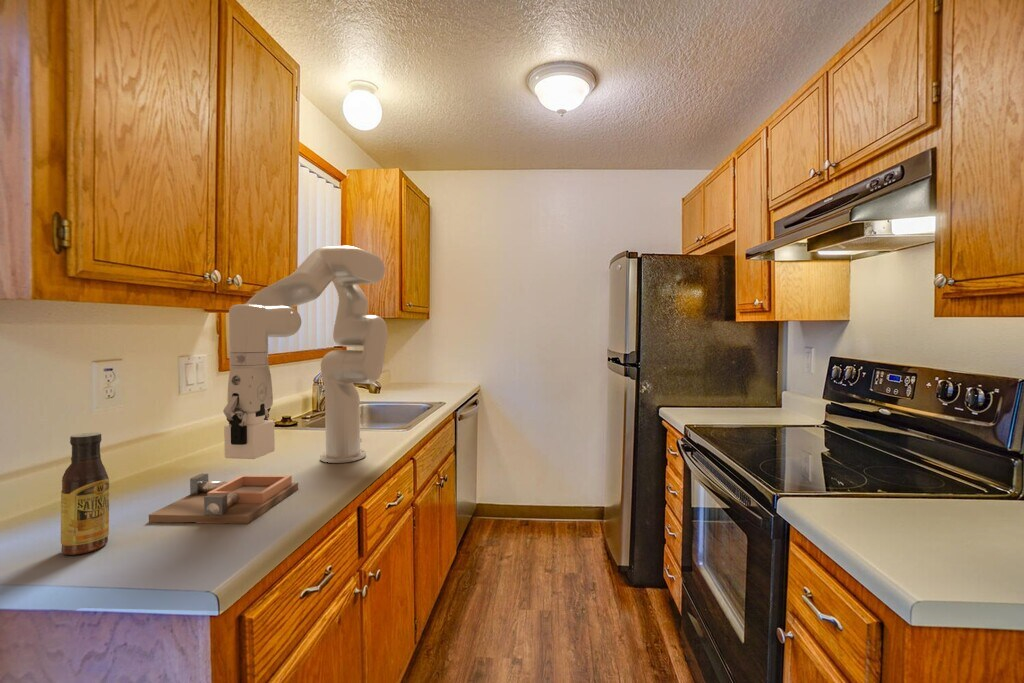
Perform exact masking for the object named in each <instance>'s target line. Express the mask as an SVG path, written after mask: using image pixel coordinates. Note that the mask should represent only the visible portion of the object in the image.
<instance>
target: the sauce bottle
mask: <svg viewBox="0 0 1024 683" xmlns="http://www.w3.org/2000/svg"><path fill="white" fill-rule="evenodd" d="M69 439H70V440H69V443H70V445H71V458H70V460H71V463H70V464H69V465H68V467H67V468H66V470H65V471H64V473H63V475H62V479H61V492H60V496H61V497H60V545H61V553H62V554H63V555H66V556H77V555H82V554H87V553H91V552H94V551H96V550H100V549H101V548H102V547H104V546H105V545H107V544H108V541H109V534H110V478H109V476H108V473H107V471H106V467H105V465H104V464H103V462H102V458H101V457H102V456H101V442H102V433H101V432H85V433H76V434H72V435H70V438H69Z"/></svg>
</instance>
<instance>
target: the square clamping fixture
mask: <svg viewBox="0 0 1024 683" xmlns="http://www.w3.org/2000/svg"><path fill="white" fill-rule="evenodd" d="M292 480H293V479H292V475H275V474H274V475H267V474H265V475H261V474H260V475H258V474H256V475H255V474H248V475H247V474H241V475H240V476H237V477H235V478H233V479H231V480H230V481H225V480H223V481H221V480H218V481H215V480H214V481H213V480H209V473H199V474H197V475H195V476H192V477H191V478H189V488H190V490H189V491H190V492H189V493H190V494H188V495H186V496H184V497H182V498H180V499H179V500H176V501H173V502H172V503H169V504H168V505H166V506H164V507H162V508H160V509H157V510H155V511H154V512H152V513H149V514H148V523H156V522H201V523H200V524H224V523H230V524H234V523H236V525H237V524H239V525H240V524H241V525H248V524H250V523H251V522H253V521H254V520H255V518H256V519H257V518H258V517H260V516H262V515H263V514H265V513H266V512H267V511H269V510H270V509H272V508H273V507H274V506H276V505H278V504H279V503H280V502H281V500H282V501H283V500H285V499H286V498H287V497H289V496H290V495H292V494H293V493H294V491H295V490H296V491H297V490H298V489H299V483H298V482H292ZM296 491H295V492H296ZM291 493H292V494H291ZM288 495H289V496H288ZM285 497H286V498H285ZM279 501H280V502H279ZM278 502H279V503H278ZM275 504H276V505H275ZM272 506H273V507H272ZM269 508H270V509H269ZM268 509H269V510H268ZM266 510H267V511H266ZM265 511H266V512H265ZM262 513H263V514H262ZM259 515H260V516H259ZM252 520H253V521H252ZM234 525H235V524H234Z"/></svg>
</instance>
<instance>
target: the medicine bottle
mask: <svg viewBox="0 0 1024 683" xmlns="http://www.w3.org/2000/svg"><path fill="white" fill-rule="evenodd" d="M238 411H243V410H242V409H239V410H238ZM237 416H238V417H239V418H241V415H237ZM264 418H265V405H264V404H261V405H260V411H258V412H256V413H252V414H249V413H248V415H247V418H246V421H245V424H244V426H247V444H245V445H232V444H231V426H229V424H226V425H224V428H223V430H224V432H223V433H224V457H225V459H238V460H239V459H241V460H243V459H244V460H256V459H257V458H260V457H263V456H266V455H268V454H271V453H273V452H275V421H274V420H271V419H270V420H269V419H268V420H264Z"/></svg>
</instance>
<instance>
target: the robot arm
mask: <svg viewBox="0 0 1024 683" xmlns="http://www.w3.org/2000/svg"><path fill="white" fill-rule="evenodd" d="M385 273H386V268H385V264H384V261H383V260H382V259H381V257H380V256H378V254H376V253H373V252H370V251H367V250H366V249H365V250H364V249H362V248H359V247H355V246H352V245H335V246H334V245H333V246H332V245H331V246H321V247H318V248H316V249H314V250H313V251H312V252H311V253H310V254H309V255H308V256H307V257H306V258H305V259H304V261H302V262H301V264H300V265H299V266H298V267H297V268H296V269H295V270H294V271H293V272H292V273H291V274H290V275H288V276H285V277H283V278H281V279H279V280H277V281H276V282H274V283H272V284H269V285H268V286H266V287H264V288H263V289H262V288H261V289H260V290H259V291H257V292H255V293H254V295H253V296H252V297H250V298H249V300H247V302H245V303H243V304H234V305H231V306H230V307H229V310H228V333H229V335H228V339H229V346H228V347H229V348H228V350H229V353H228V354H229V374H228V381H227V382H228V383H227V404H226V405H225V407H224V408H223V413H224V416H225V418H226V421H228V425H229V426H231V444H232V445H245V444H247V426H244V424H245V421H246V418H247V415H248V413H249V414H252V413H256V412H258V411H260V405H261V404H264V405H265V418H264V420H269V418H270V411H271V408H272V406H273V404H274V400H273V399H274V398H273V383H272V374H271V370H270V365H269V338H287V337H291V336H294V335H295V334H297V333H298V331H299V330H300V328H301V326H302V318H301V314H300V313H299V312H298V311H297V310H296V309H295V308H294V307H296V306H300V305H303V304H307V303H311V302H312V301H314V300H316V299H318V298H319V297H320V296H322V295H321V294H322V293H323V292H324V291H325V289H326V288H328V286H329V285H330V284H331V283H332V284H333V285H334V287H335V290H336V293H337V297H338V306H337V311H336V317H335V321H334V326H333V333H332V335H333V341H334V343H335V344H336V345H338V346H341V347H346V348H363V349H362V350H361V349H360V350H358V349H357V350H354V349H338V350H331V351H328V352H327V353H326V354H325V355H324V356H323V357H322V359H321V361H320V371H321V376H322V377H321V378H322V380H323V386H324V411H325V412H324V414H325V416H324V417H325V418H324V419H325V423H324V424H325V426H324V427H325V452H322V453H321V454H320V455H319V456H320V457H319V460H320V461H321V462H323V463H327V462H328V464H329V463H330V464H343V463H344V464H345V463H350V462H356V461H359V460H361V459H363V458H365V457H366V455H367V453H366V450H365V449H361V443H362V442H363V439H362V438H361V424H360V423H361V417H360V409H361V408H360V407H361V406H360V395H359V392H358V390H357V388H356V386H355V384H373V383H374V384H375V383H376V382H377V381H378V380H379V379H380V378H381V375H382V372H383V368H384V362H385V355H386V350H387V343H388V336H389V335H388V334H389V332H388V326H387V323H386V321H385V319H384V318H382V317H381V316H379V315H376V314H375V315H374V314H368V308H369V301H368V298H367V296H366V293H364V291H363V290H362V288H361V287H360V285H363V284H364V285H365V284H366V285H367V284H369V285H370V284H372V285H373V284H376V283H380V282H381V281H382V280H383V278H384V277H385ZM239 409H242V410H243V411H238V410H239ZM237 415H241V418H239V417H238V416H237Z"/></svg>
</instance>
